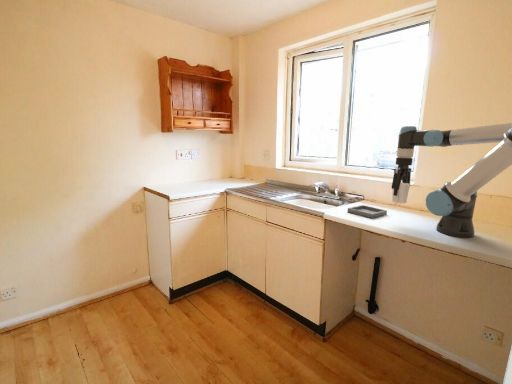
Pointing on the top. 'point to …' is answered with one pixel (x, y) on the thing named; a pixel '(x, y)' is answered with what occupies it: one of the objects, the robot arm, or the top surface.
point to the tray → (367, 211)
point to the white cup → (402, 192)
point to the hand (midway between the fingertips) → (399, 200)
